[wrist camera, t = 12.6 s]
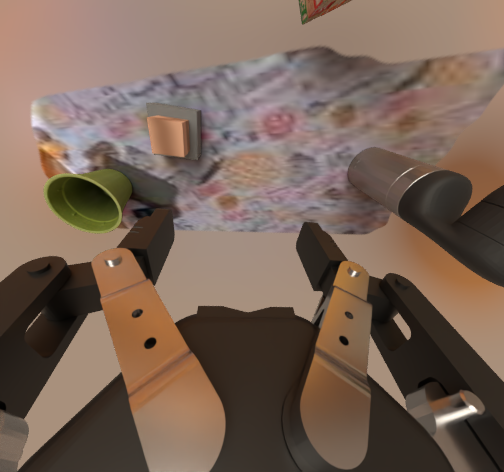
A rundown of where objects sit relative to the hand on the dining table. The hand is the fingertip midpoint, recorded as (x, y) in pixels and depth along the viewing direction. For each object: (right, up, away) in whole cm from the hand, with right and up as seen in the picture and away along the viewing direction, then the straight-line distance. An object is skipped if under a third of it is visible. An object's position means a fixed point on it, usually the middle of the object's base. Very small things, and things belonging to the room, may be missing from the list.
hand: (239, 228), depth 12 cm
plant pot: (-30, +11, +31) cm, 45 cm away
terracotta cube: (-13, +18, +22) cm, 31 cm away
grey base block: (-14, +21, +26) cm, 36 cm away
